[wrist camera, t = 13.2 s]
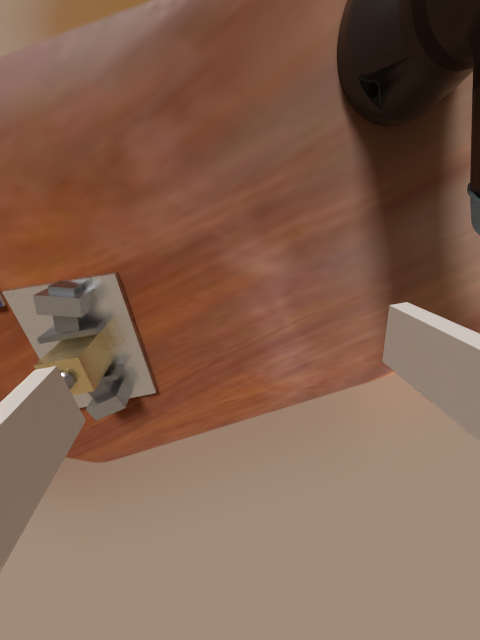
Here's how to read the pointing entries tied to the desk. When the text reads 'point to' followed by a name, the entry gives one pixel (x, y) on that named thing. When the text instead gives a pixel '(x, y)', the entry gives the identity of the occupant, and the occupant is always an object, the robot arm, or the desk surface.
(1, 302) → the hard drive
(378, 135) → the desk surface
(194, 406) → the desk surface
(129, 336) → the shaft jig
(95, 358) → the block
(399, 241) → the desk surface
